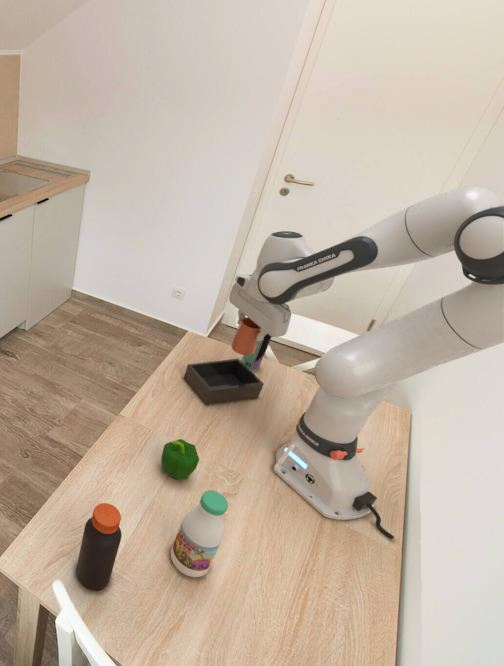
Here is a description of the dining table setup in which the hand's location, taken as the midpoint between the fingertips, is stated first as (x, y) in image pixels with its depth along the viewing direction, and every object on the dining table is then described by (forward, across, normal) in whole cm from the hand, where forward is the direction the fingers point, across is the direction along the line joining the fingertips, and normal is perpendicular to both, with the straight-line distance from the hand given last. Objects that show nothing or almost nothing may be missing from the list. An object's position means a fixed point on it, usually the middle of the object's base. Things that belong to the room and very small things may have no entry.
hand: (249, 332), depth 134 cm
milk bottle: (+21, -49, +42) cm, 67 cm away
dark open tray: (+20, 0, +3) cm, 21 cm away
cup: (+6, 0, 0) cm, 6 cm away
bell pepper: (+21, -27, +33) cm, 47 cm away
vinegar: (+21, -48, +63) cm, 82 cm away
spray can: (+21, +8, -13) cm, 26 cm away
